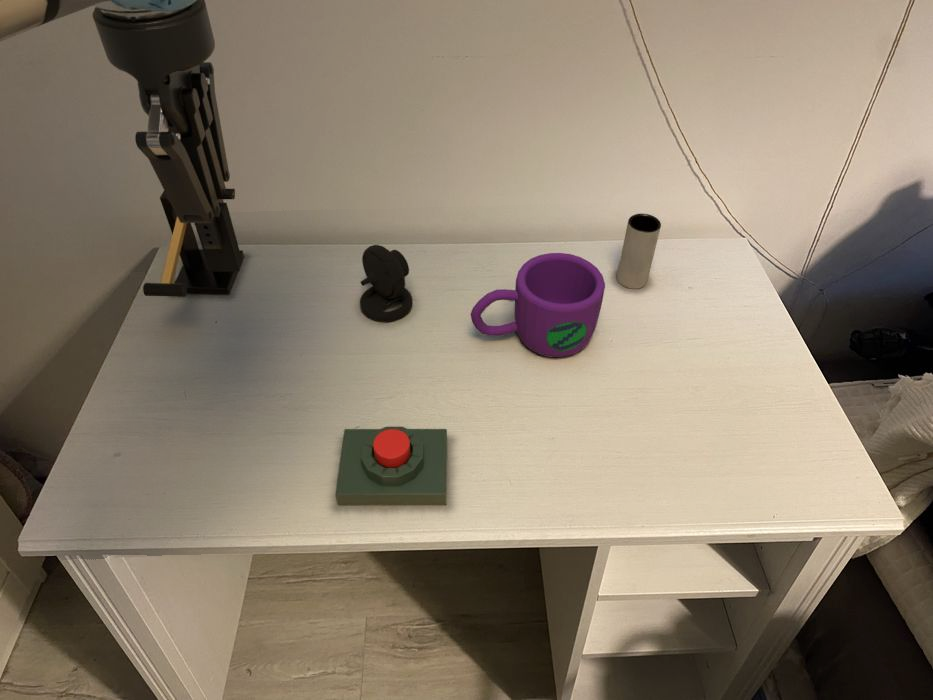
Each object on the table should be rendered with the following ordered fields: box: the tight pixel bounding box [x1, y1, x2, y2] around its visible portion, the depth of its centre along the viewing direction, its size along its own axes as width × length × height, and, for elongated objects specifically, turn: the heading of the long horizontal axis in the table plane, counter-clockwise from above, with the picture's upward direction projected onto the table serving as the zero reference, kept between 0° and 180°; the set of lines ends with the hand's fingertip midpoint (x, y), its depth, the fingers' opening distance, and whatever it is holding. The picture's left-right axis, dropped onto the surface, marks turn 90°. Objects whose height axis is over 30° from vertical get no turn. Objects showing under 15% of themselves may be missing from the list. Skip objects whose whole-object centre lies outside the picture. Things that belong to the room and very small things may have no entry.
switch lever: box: [142, 217, 188, 298], centre depth 94 cm, size 16×5×2 cm, turn 178°
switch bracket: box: [159, 190, 245, 296], centre depth 101 cm, size 9×8×15 cm
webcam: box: [359, 244, 413, 323], centre depth 98 cm, size 8×8×10 cm
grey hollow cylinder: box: [616, 213, 662, 290], centre depth 103 cm, size 4×4×10 cm
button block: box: [335, 426, 448, 506], centre depth 80 cm, size 12×9×4 cm
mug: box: [470, 252, 606, 358], centre depth 94 cm, size 17×11×10 cm, turn 100°
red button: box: [373, 429, 410, 468], centre depth 79 cm, size 4×4×2 cm
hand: (226, 266), depth 66 cm, fingers closed
